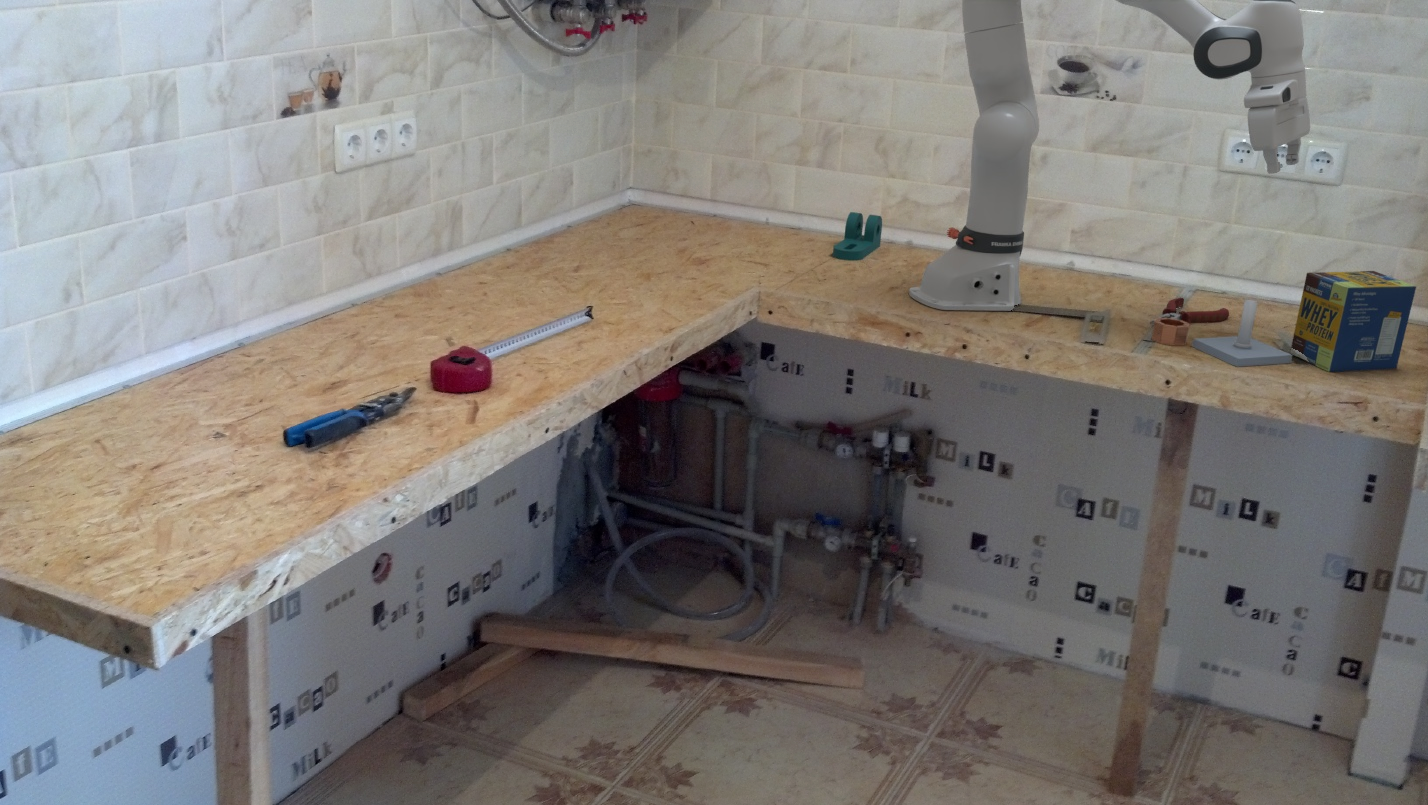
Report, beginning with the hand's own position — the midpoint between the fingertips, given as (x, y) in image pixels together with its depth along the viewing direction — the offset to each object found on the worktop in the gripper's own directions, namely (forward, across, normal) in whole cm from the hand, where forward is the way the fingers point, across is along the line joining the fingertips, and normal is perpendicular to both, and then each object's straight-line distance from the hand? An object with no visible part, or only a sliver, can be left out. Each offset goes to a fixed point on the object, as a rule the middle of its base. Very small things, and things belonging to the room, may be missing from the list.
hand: (1283, 168), depth 244 cm
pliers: (+29, -3, -23) cm, 37 cm away
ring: (+28, +15, -17) cm, 36 cm away
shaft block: (+31, +13, -5) cm, 34 cm away
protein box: (+36, +1, +9) cm, 37 cm away
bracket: (+12, +4, -93) cm, 94 cm away
